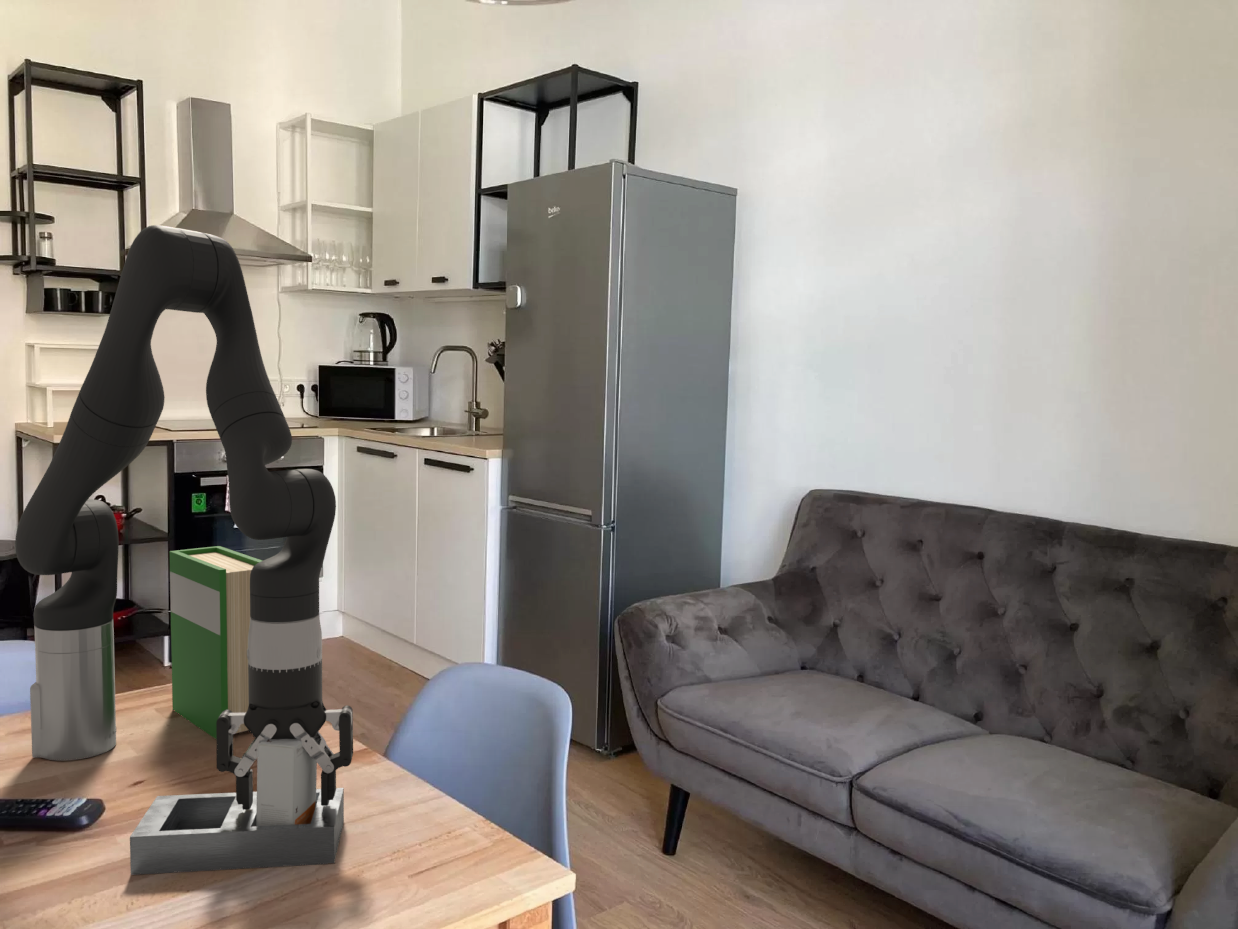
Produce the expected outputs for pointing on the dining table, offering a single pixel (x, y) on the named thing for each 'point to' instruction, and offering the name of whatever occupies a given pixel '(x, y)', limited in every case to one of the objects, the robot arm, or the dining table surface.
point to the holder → (229, 835)
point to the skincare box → (285, 783)
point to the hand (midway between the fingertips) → (286, 804)
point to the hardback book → (210, 633)
